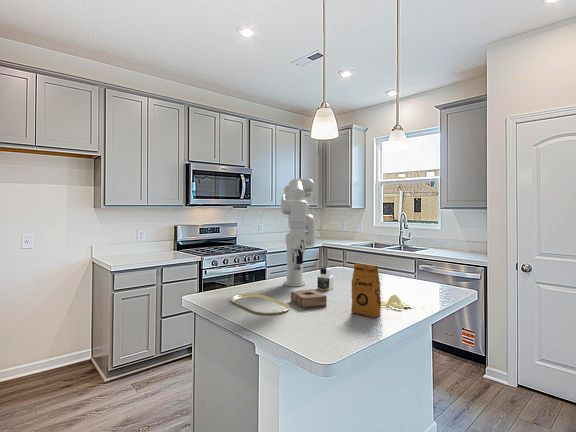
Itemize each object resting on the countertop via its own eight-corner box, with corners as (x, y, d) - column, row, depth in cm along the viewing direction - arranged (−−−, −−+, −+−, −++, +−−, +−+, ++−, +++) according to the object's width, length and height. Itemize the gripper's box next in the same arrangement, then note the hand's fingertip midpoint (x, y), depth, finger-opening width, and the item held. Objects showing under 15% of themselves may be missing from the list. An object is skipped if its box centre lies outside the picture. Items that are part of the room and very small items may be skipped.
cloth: (363, 305, 167) (364, 293, 167) (387, 299, 179) (387, 287, 179) (404, 317, 150) (405, 303, 150) (427, 310, 161) (428, 297, 161)
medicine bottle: (317, 289, 198) (317, 268, 198) (321, 286, 204) (322, 266, 204) (329, 290, 195) (329, 269, 194) (333, 288, 201) (333, 267, 200)
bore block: (290, 301, 171) (290, 291, 171) (312, 298, 176) (312, 289, 176) (303, 309, 159) (303, 298, 158) (326, 306, 164) (326, 295, 164)
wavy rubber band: (264, 319, 146) (264, 315, 146) (224, 300, 173) (224, 297, 173) (298, 311, 157) (298, 307, 157) (256, 295, 185) (256, 292, 185)
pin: (292, 269, 170) (292, 248, 170) (299, 268, 172) (299, 248, 171) (295, 270, 167) (295, 249, 167) (302, 270, 168) (302, 249, 168)
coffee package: (374, 320, 145) (375, 267, 144) (348, 314, 152) (348, 264, 152) (384, 314, 152) (385, 264, 152) (358, 308, 160) (359, 261, 160)
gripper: (284, 224, 175) (283, 261, 175) (298, 226, 160) (297, 266, 160) (297, 224, 178) (297, 260, 178) (312, 226, 162) (312, 265, 163)
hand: (297, 262), depth 169 cm, fingers closed on pin, 3 cm apart
